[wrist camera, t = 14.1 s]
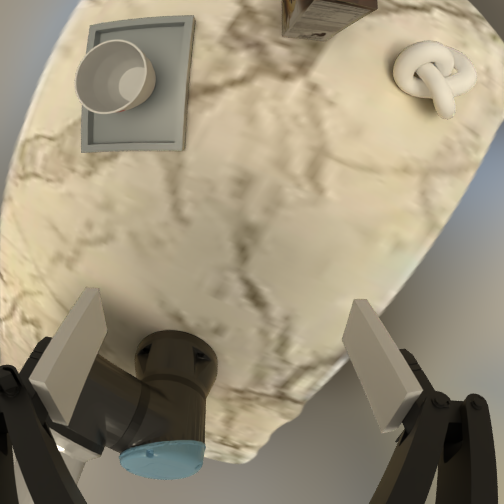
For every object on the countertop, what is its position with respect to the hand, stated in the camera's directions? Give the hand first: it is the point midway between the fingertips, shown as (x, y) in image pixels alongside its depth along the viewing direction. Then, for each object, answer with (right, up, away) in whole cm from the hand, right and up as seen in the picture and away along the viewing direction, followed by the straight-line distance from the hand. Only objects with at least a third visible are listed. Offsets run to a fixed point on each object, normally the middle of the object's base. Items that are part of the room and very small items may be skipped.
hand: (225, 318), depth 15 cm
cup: (-14, +25, +19) cm, 34 cm away
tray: (-14, +25, +19) cm, 34 cm away
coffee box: (+8, +35, +16) cm, 40 cm away
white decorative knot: (+27, +30, +20) cm, 45 cm away
